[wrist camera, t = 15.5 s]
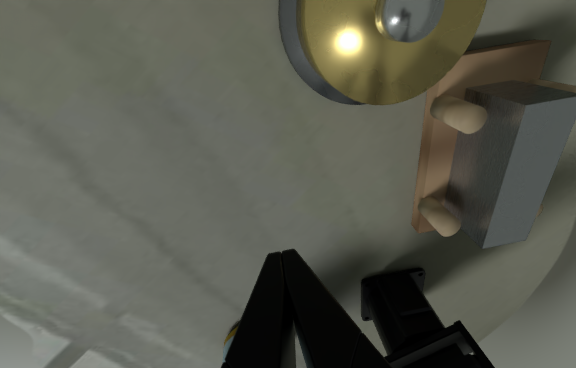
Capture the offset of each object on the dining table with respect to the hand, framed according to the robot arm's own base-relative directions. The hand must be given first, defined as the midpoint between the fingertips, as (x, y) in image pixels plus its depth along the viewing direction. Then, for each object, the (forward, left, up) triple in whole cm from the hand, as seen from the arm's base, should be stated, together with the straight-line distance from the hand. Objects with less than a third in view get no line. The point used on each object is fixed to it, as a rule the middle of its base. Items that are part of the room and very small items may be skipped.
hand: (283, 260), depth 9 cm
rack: (-4, -15, -12) cm, 20 cm away
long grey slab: (-4, -15, -11) cm, 19 cm away
